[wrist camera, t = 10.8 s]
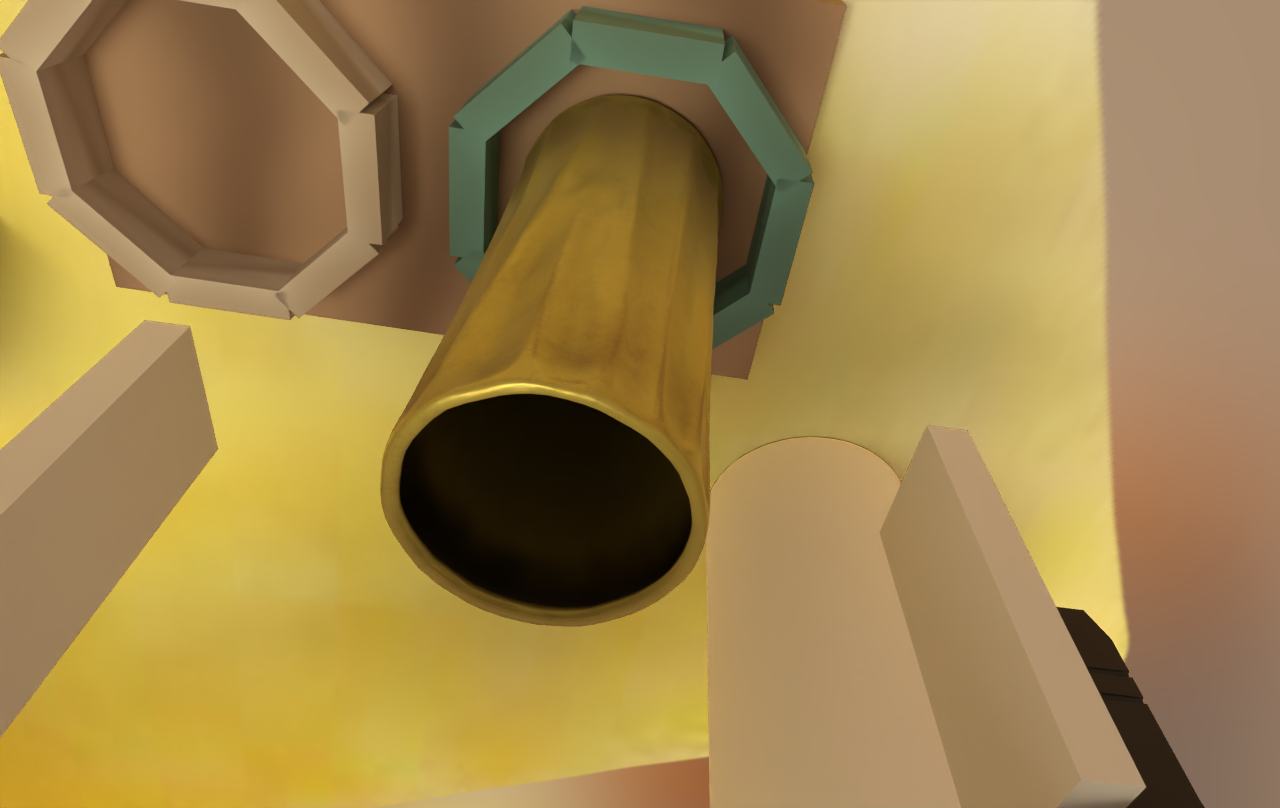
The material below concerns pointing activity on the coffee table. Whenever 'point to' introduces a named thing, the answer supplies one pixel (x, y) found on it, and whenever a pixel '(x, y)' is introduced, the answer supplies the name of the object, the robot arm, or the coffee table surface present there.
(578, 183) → the vase
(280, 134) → the board
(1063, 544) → the coffee table surface
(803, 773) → the cup
